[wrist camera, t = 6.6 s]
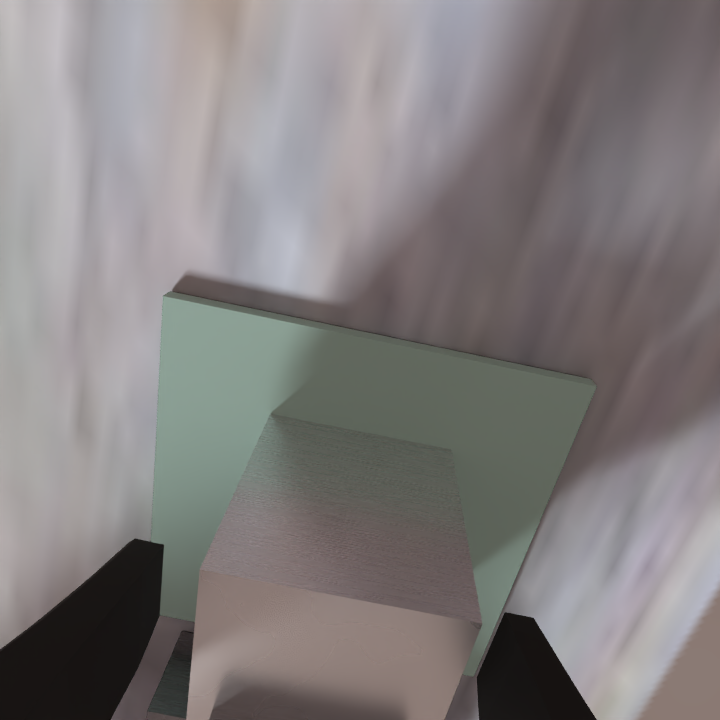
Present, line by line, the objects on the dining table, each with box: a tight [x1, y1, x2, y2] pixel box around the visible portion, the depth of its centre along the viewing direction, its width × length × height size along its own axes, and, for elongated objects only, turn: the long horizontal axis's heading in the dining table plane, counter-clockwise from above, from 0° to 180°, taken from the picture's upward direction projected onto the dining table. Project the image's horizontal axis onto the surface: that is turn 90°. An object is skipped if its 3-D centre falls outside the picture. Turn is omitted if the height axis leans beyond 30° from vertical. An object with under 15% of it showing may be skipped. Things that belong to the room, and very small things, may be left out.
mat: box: [151, 291, 597, 677], centre depth 14 cm, size 10×10×1 cm
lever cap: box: [186, 414, 482, 720], centre depth 11 cm, size 6×4×6 cm
